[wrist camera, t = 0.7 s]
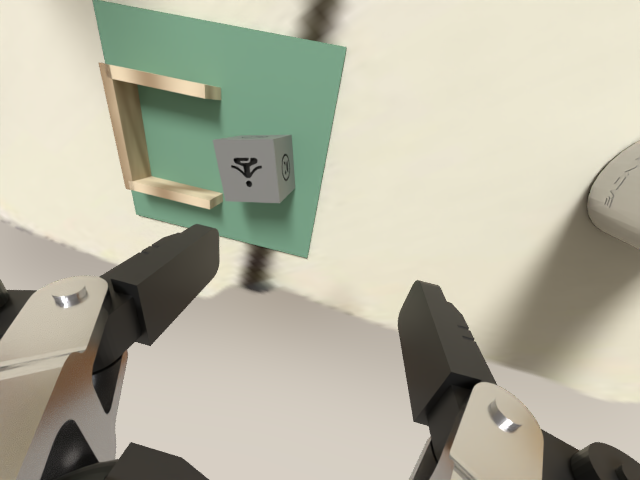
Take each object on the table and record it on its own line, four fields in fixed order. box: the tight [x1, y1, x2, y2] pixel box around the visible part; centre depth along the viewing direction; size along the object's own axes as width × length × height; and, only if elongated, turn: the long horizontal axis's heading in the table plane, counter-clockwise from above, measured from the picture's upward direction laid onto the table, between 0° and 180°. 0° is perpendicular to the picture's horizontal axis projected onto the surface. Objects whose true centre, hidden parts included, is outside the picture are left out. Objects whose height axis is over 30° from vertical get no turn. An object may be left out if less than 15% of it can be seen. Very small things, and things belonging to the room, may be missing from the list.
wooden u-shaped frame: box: [99, 63, 223, 209], centre depth 24 cm, size 10×11×2 cm
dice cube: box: [213, 135, 295, 203], centre depth 22 cm, size 5×5×5 cm
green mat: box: [93, 0, 347, 258], centre depth 25 cm, size 22×20×1 cm
